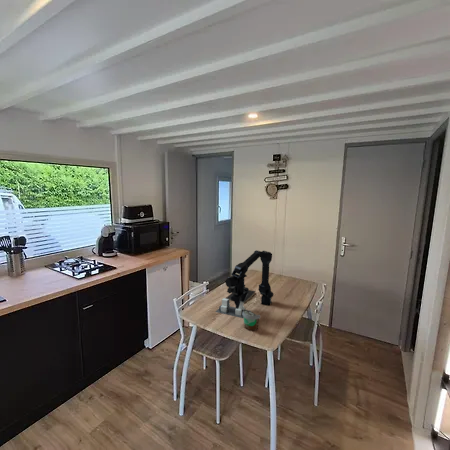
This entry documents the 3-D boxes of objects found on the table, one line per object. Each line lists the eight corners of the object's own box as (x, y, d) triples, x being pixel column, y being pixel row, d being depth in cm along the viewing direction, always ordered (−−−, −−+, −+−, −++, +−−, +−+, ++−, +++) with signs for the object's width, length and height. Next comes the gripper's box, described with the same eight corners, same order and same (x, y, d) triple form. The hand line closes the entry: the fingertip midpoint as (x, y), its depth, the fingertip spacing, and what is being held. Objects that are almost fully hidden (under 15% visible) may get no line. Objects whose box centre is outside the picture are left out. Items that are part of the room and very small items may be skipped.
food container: (238, 326, 158) (238, 311, 157) (244, 322, 162) (244, 308, 161) (253, 334, 149) (253, 318, 148) (260, 330, 154) (260, 314, 152)
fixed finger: (230, 308, 181) (230, 298, 180) (226, 312, 175) (226, 302, 174) (224, 306, 183) (224, 297, 182) (220, 311, 177) (220, 300, 176)
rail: (251, 311, 177) (251, 308, 177) (245, 319, 167) (245, 315, 166) (222, 305, 187) (222, 302, 186) (215, 312, 176) (215, 309, 175)
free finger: (244, 311, 177) (244, 300, 176) (240, 315, 171) (240, 304, 169) (238, 309, 179) (238, 299, 178) (234, 314, 172) (234, 303, 171)
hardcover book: (255, 294, 208) (255, 291, 208) (244, 305, 188) (244, 302, 188) (237, 290, 216) (237, 287, 215) (224, 300, 196) (224, 297, 195)
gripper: (234, 277, 183) (234, 298, 185) (223, 286, 166) (223, 309, 169) (249, 280, 178) (248, 301, 181) (239, 289, 162) (239, 312, 164)
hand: (239, 305), depth 174 cm, fingers open, 9 cm apart
